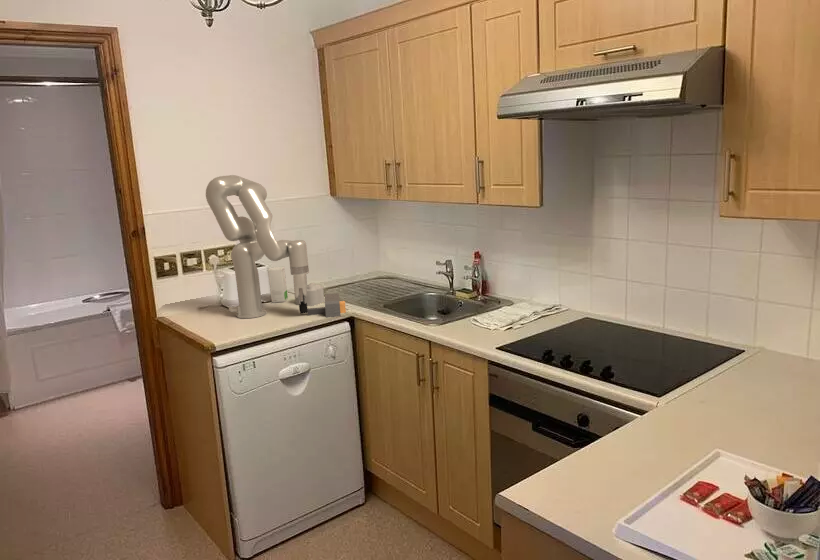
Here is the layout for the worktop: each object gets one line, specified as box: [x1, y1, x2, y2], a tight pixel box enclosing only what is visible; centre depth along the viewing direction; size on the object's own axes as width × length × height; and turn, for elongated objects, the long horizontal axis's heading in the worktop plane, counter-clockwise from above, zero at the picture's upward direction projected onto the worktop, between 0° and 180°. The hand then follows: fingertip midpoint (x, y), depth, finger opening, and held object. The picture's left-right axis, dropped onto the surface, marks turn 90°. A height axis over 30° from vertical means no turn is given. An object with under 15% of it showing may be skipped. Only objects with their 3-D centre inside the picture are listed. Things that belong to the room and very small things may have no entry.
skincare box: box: [267, 266, 289, 304], centre depth 302 cm, size 8×7×16 cm
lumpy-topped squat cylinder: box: [294, 282, 325, 307], centre depth 294 cm, size 10×13×9 cm
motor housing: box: [324, 293, 342, 318], centre depth 274 cm, size 6×14×7 cm, turn 7°
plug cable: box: [306, 300, 347, 316], centre depth 274 cm, size 16×4×4 cm, turn 96°
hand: (303, 312), depth 273 cm, fingers closed
